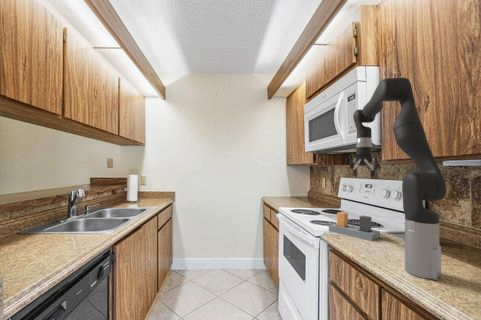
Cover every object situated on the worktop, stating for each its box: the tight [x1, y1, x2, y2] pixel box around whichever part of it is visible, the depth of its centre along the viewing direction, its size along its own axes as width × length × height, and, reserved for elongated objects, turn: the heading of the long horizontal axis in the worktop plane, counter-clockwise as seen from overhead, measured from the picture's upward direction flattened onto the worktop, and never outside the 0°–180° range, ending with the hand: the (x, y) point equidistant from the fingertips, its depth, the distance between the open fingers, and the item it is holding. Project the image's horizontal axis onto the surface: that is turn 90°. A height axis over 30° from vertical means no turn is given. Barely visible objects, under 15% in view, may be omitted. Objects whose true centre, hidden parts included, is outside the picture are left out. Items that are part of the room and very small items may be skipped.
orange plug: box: [336, 211, 349, 228], centre depth 132 cm, size 4×4×10 cm
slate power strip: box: [328, 215, 381, 242], centre depth 127 cm, size 22×10×10 cm, turn 40°
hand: (364, 177), depth 130 cm, fingers open, 8 cm apart
